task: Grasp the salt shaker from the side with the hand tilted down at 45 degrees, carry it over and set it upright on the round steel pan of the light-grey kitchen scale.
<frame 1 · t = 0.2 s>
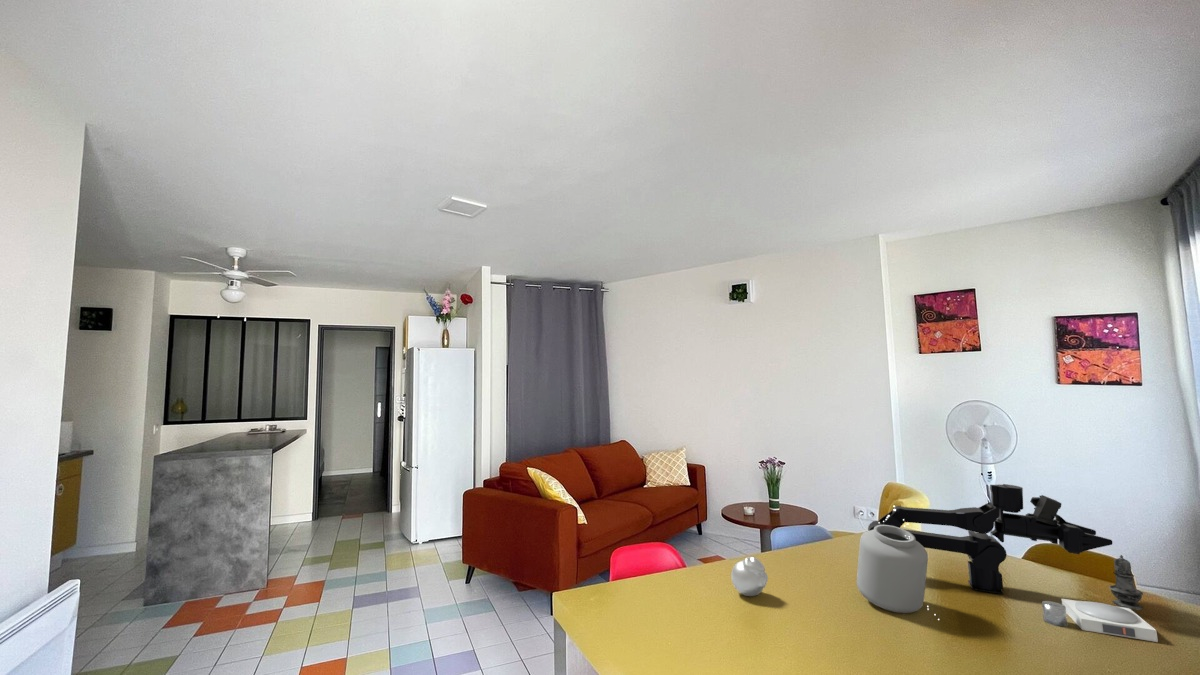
hand: (1103, 537, 123), 17 cm above the table, tool horizontal, fingers open, 9 cm apart
jar: (896, 608, 122), on the table
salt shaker: (1127, 605, 121), on the table
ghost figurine: (750, 596, 129), on the table
spacer: (1055, 622, 113), on the table
scale: (1106, 624, 112), on the table
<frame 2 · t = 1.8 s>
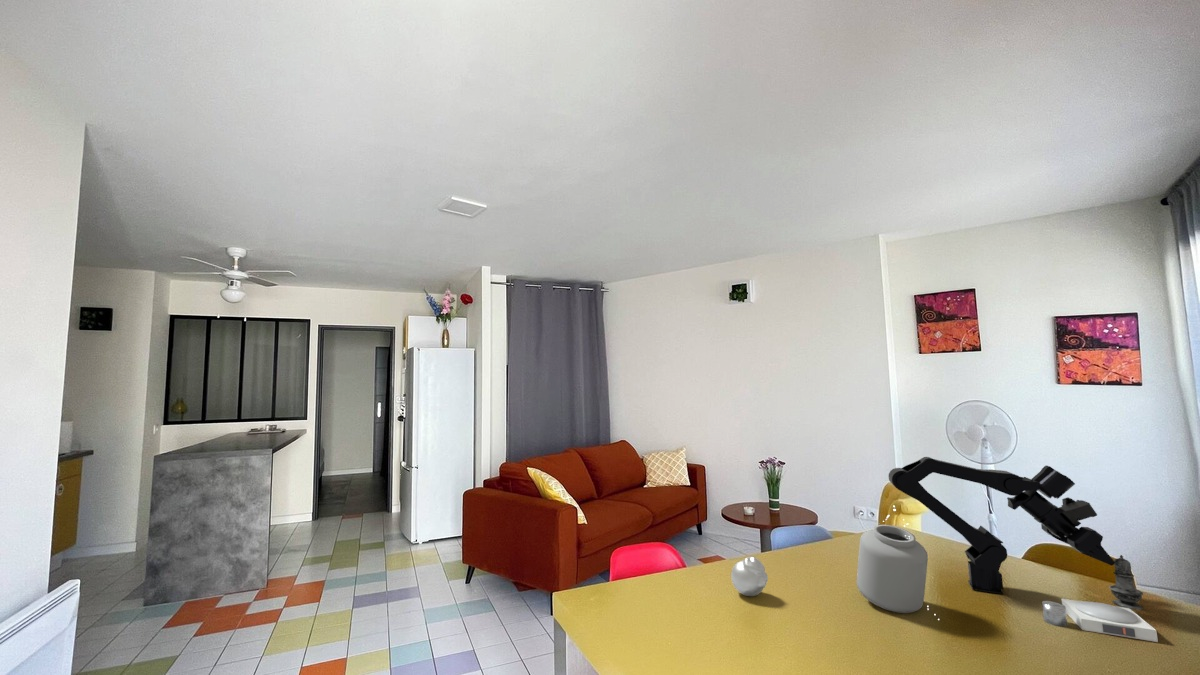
hand: (1102, 558, 124), 11 cm above the table, tool tilted 45°, fingers open, 9 cm apart
nothing on the table moved.
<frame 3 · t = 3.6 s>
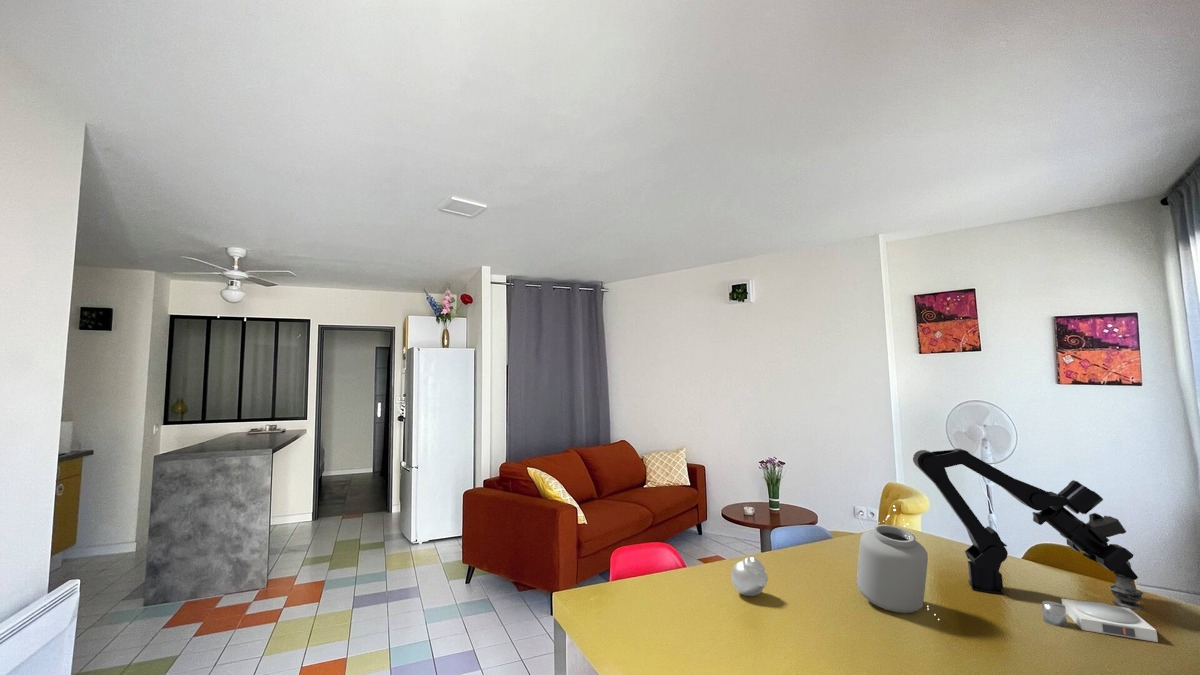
hand: (1131, 575, 122), 7 cm above the table, tool tilted 45°, fingers closed on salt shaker, 4 cm apart
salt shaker: (1127, 605, 121), on the table, touching gripper
everything else where it was.
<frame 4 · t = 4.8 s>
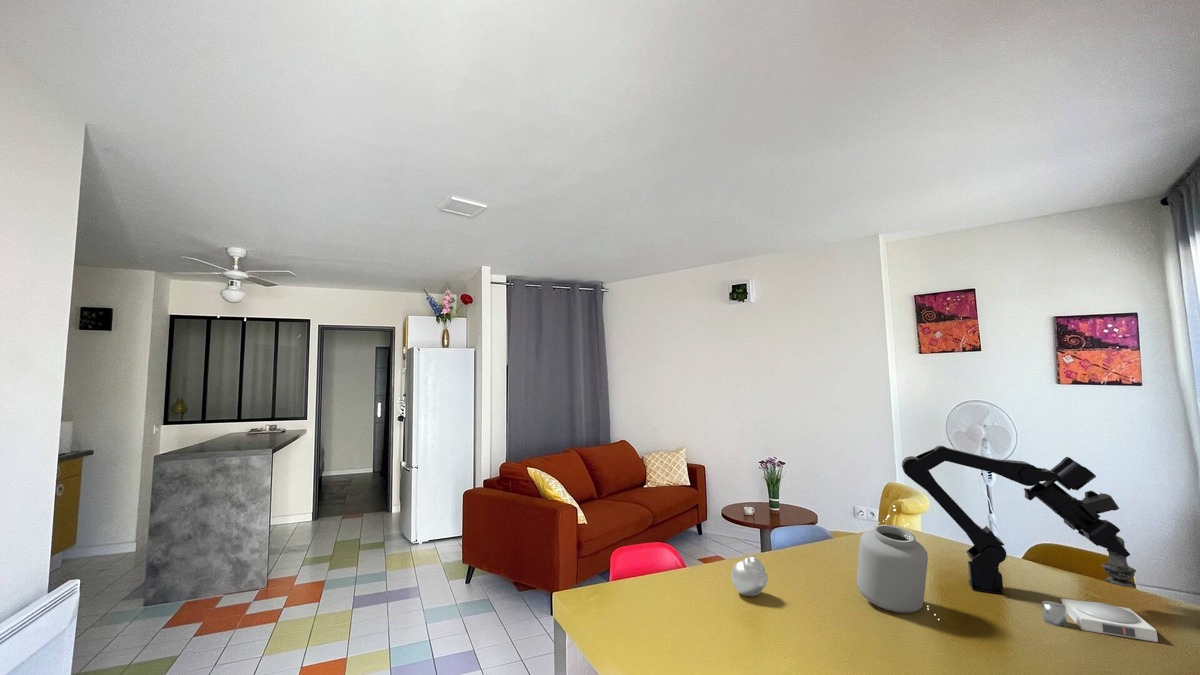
hand: (1124, 553, 120), 13 cm above the table, tool tilted 45°, fingers closed on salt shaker, 4 cm apart
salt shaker: (1120, 583, 120), point 6 cm above the table, touching gripper
everything else where it was.
when the fingers open (11 cm above the table, at t = 6.3 s): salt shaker stays where it is, resting on scale.
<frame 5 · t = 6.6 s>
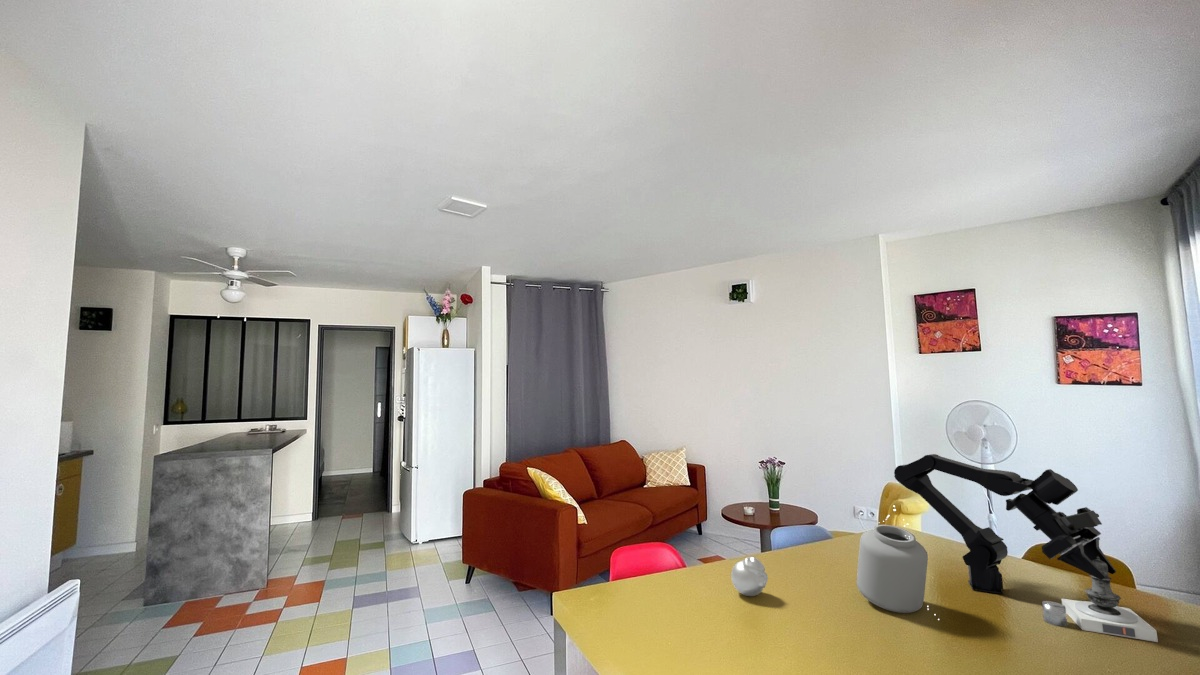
hand: (1109, 575, 112), 11 cm above the table, tool tilted 45°, fingers open, 6 cm apart
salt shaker: (1104, 611, 112), point 3 cm above the table, touching scale
everything else where it was.
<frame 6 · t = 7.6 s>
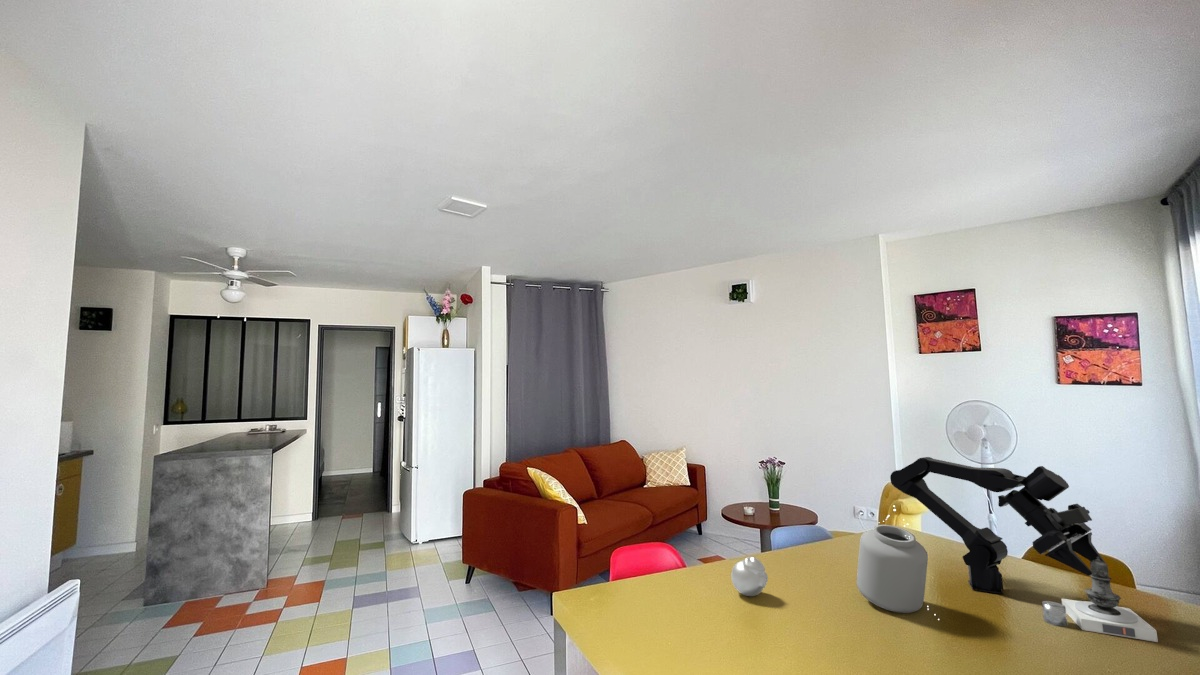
hand: (1098, 571, 113), 12 cm above the table, tool tilted 45°, fingers open, 9 cm apart
nothing on the table moved.
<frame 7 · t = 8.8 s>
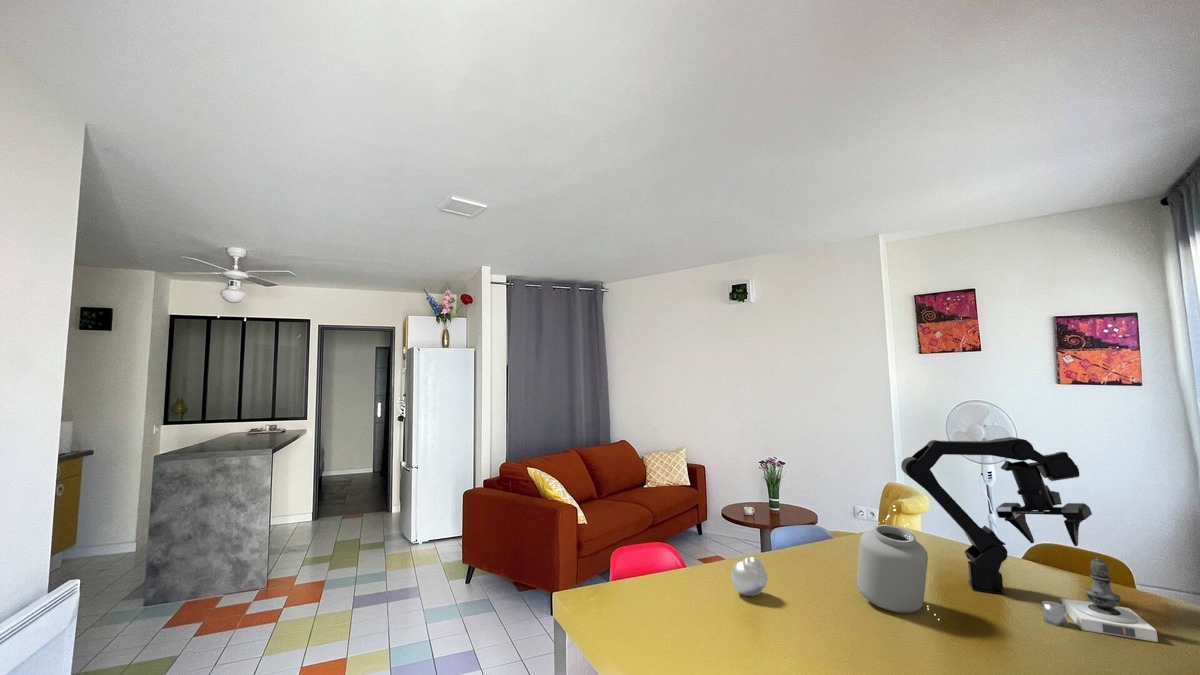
hand: (1054, 544, 128), 13 cm above the table, tool pointing down, fingers open, 9 cm apart
nothing on the table moved.
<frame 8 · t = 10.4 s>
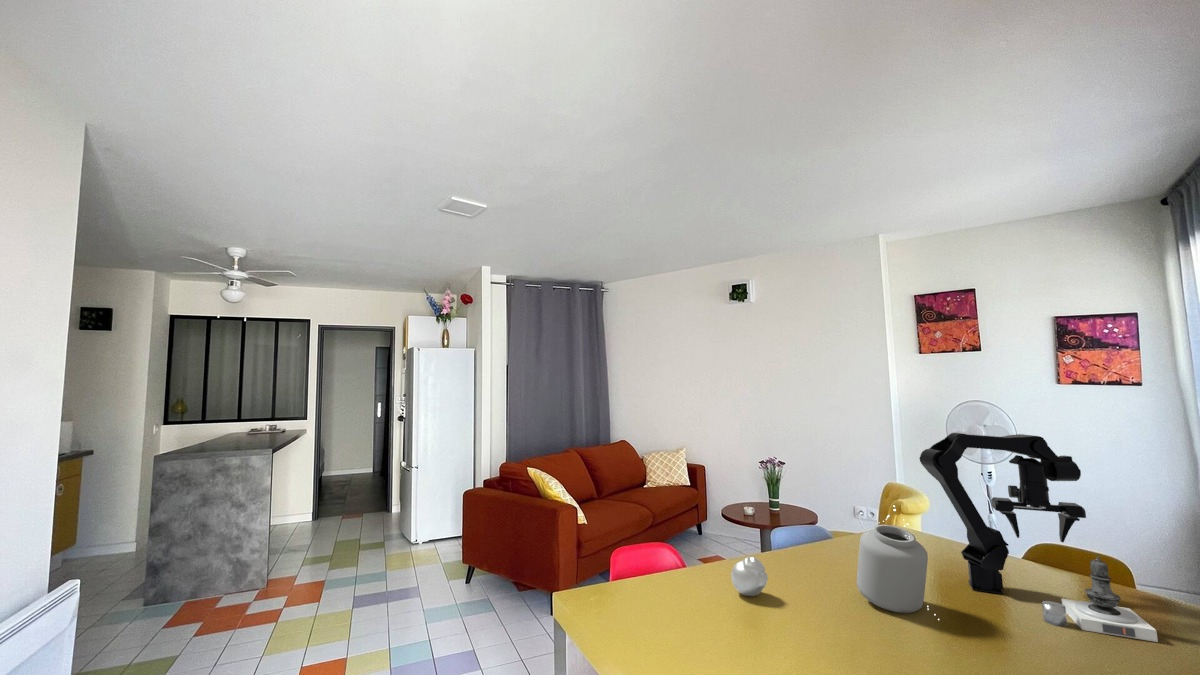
hand: (1039, 539, 133), 13 cm above the table, tool pointing down, fingers open, 9 cm apart
nothing on the table moved.
at the end: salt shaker inside the target area on the scale (0.1 cm from its centre), point 2.8 cm above the scale's base; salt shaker tilted 0°; the gripper is holding nothing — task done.
